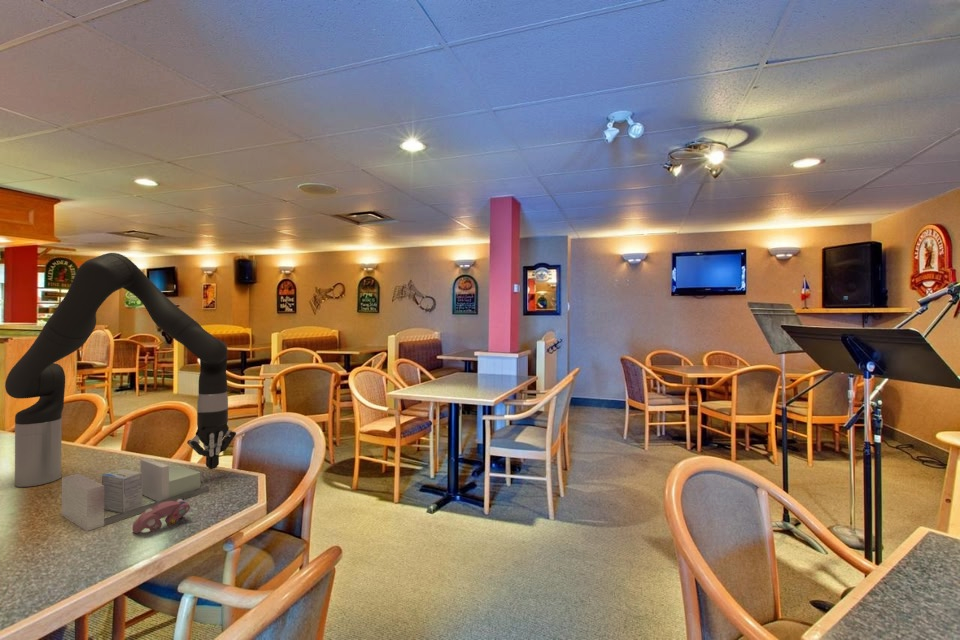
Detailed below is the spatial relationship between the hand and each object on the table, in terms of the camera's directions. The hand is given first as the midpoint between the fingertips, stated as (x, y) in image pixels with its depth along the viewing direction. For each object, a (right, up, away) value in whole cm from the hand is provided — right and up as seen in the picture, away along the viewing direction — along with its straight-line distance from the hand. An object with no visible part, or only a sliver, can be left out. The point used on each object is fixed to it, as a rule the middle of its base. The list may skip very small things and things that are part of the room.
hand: (212, 468), depth 124 cm
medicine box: (-10, -4, -19) cm, 22 cm away
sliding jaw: (-5, -3, -9) cm, 11 cm away
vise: (-9, -3, -15) cm, 18 cm away
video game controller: (+6, -4, -28) cm, 29 cm away
